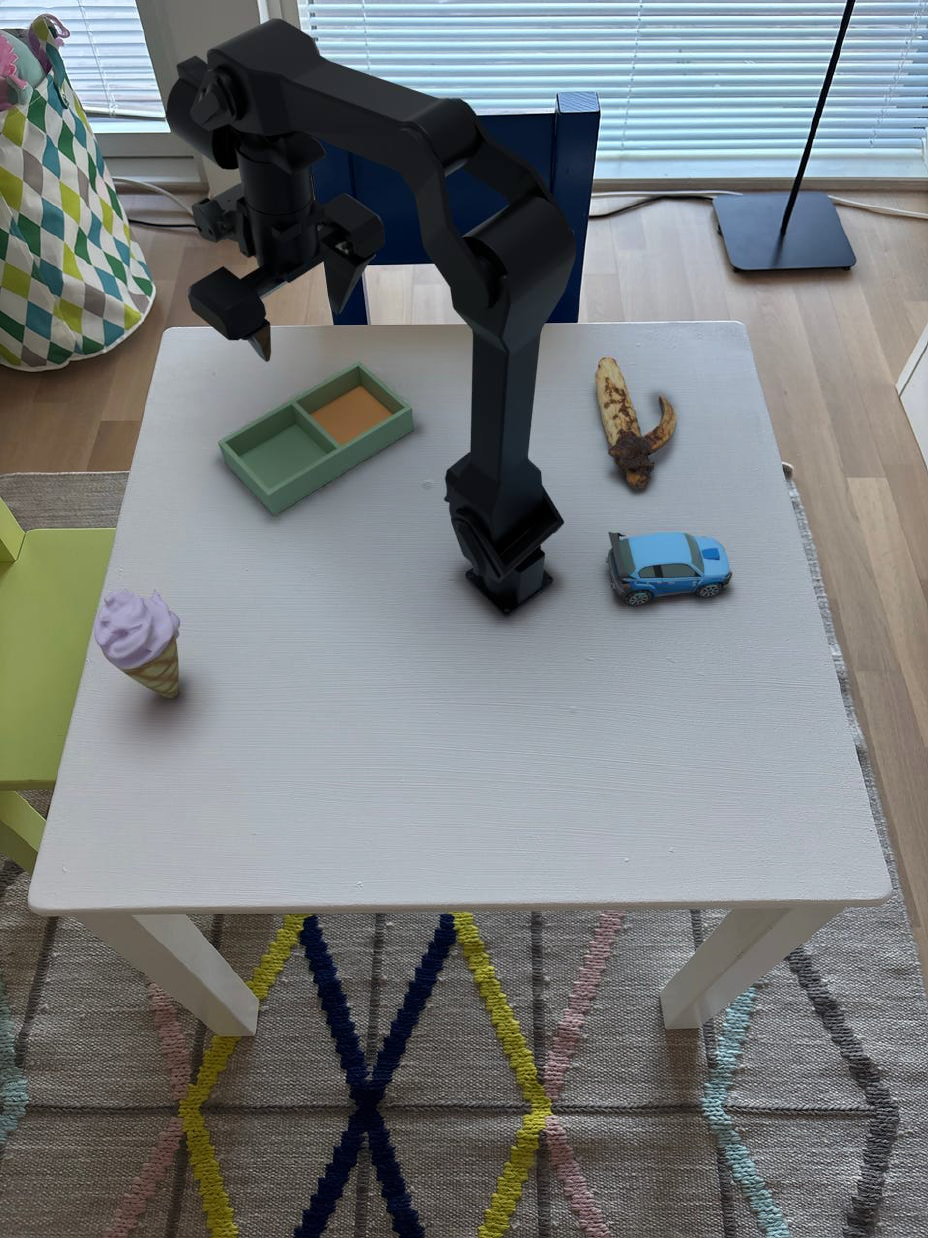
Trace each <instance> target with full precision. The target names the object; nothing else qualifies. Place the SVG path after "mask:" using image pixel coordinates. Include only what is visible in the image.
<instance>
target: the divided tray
mask: <svg viewBox="0 0 928 1238" xmlns="http://www.w3.org/2000/svg"><path fill="white" fill-rule="evenodd" d="M413 414H414V413H413V408H412V406H411V405H409V404H408V403H407V402H406V401H405V400H404V399H403V398H401V397H400V395H398V394H397V393H396V392H395V391H394V390H393V389H391V388H390V387H389V386H388V385H387V384H386V383H384V381H383V380H381V378H379V377H378V375H376V374H374V372H373V371H371V370H370V369H369V368H368V367H367V366H366V365H365V364H364V363H362V362H361V361H360V360H358V361H356V362H354V363H353V364H351V365H349V366H347V367H345V368H344V369H342V370H340V371H339V372H337V373H335V374H334V375H332V376H330V377H328V378H326V379H325V380H323V381H321V382H320V383H318V384H316V385H314V386H313V387H311V388H309V389H307V390H305V391H303V392H302V393H300V394H298V395H296V396H295V397H293V398H291V399H290V400H288V401H285V403H283V404H281V405H279V406H278V407H276V408H274V409H272V410H271V411H269V412H267V413H265V414H263V415H262V416H260V417H258V418H256V419H255V420H253V421H251V422H249V423H248V424H246V425H245V426H242V427H241V428H239V429H237V430H236V431H233V432H231V433H230V434H229V435H227V436H225V437H223V438H221V439H219V440H218V441H217V443H218V446H219V449H220V453H221V455H222V458H223V461H224V464H225V465H226V466H227V467H228V468H229V469H230V470H231V471H232V472H233V473H234V474H235V476H236V477H238V479H239V480H240V481H241V482H242V483H243V484H244V485H245V486H246V487H247V489H249V490H250V491H251V493H252V494H253V495H254V496H255V497H256V498H257V499H258V500H259V501H260V502H261V503H262V505H263V506H265V508H266V509H267V510H268V511H269V512H270V513H271V514H272V516H277V515H278V514H280V513H281V512H283V511H285V510H286V509H288V508H290V507H291V506H292V505H294V504H296V503H298V502H299V501H301V500H303V499H304V498H307V496H309V495H311V494H313V493H314V492H316V491H317V490H318V489H320V488H322V487H324V486H326V485H327V484H328V483H330V482H331V481H333V480H335V479H336V478H338V477H340V476H342V475H343V474H344V473H346V472H347V471H350V470H351V469H352V468H355V467H356V466H358V465H359V464H361V463H363V462H364V461H366V460H367V459H369V458H371V457H372V456H373V455H375V454H377V453H378V452H380V451H382V450H383V449H385V448H386V447H388V446H390V445H391V444H393V443H395V442H396V441H398V440H400V439H401V438H403V437H405V436H407V434H409V433H410V432H411V433H412V431H414V430H415V427H414V416H413Z"/></svg>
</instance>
